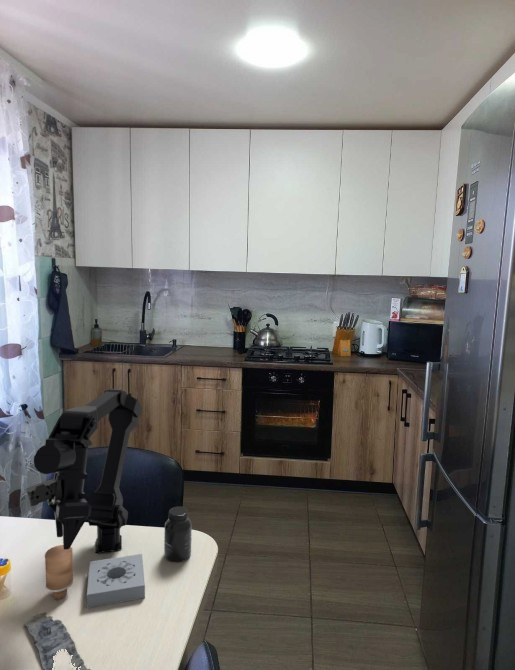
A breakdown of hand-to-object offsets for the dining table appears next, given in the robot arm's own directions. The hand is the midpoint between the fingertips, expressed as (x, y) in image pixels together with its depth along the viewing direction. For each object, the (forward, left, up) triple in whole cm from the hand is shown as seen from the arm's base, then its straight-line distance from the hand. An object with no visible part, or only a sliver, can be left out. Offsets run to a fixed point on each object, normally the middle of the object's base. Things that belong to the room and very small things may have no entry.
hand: (62, 542), depth 97 cm
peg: (-2, -1, -13) cm, 13 cm away
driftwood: (+13, -1, -14) cm, 19 cm away
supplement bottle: (-10, +26, -13) cm, 31 cm away
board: (-2, +11, -13) cm, 17 cm away
